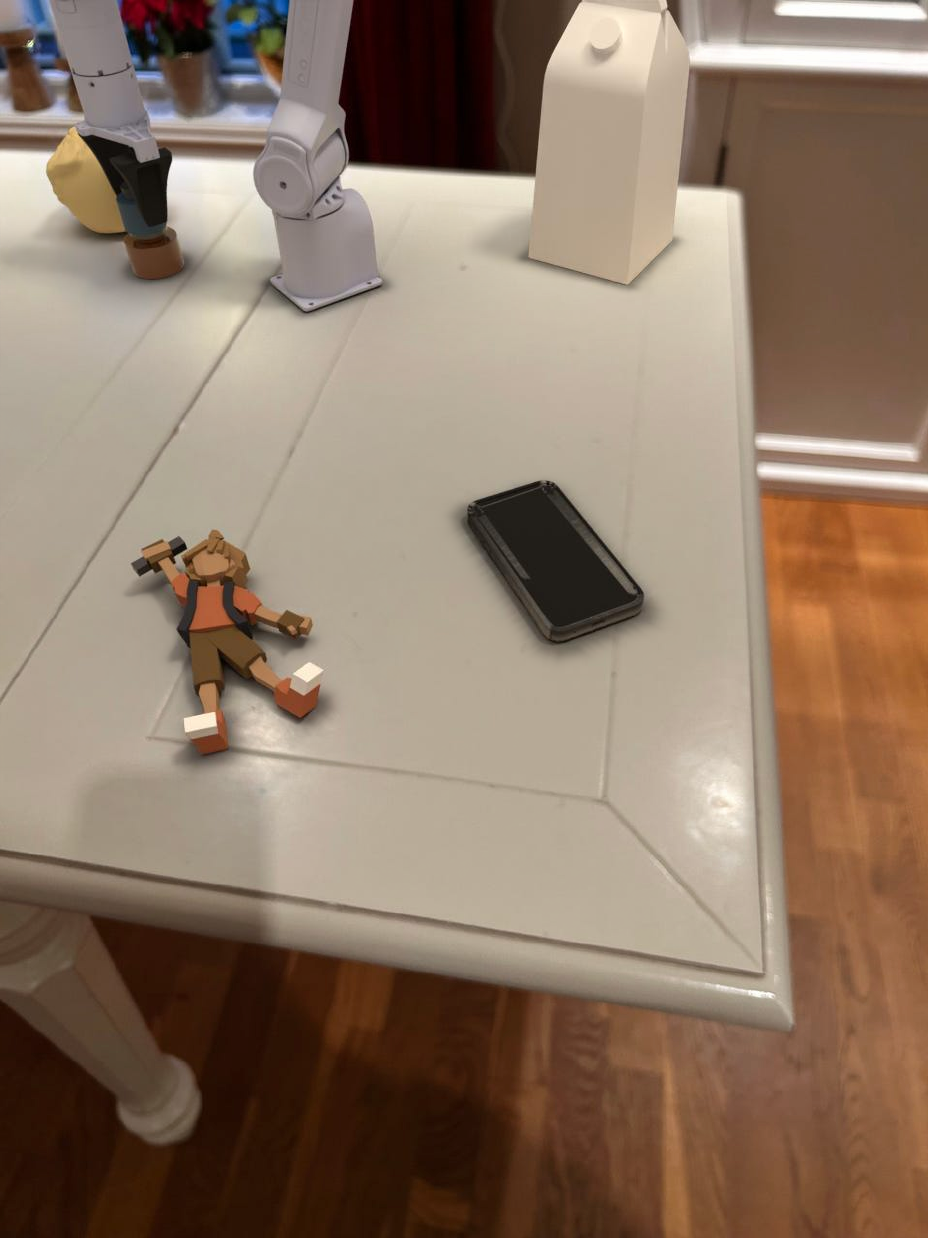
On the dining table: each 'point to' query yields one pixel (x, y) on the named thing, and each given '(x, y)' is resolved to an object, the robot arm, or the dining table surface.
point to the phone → (554, 560)
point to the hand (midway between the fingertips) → (142, 210)
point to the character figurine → (226, 631)
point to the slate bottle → (133, 214)
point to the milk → (610, 140)
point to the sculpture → (83, 185)
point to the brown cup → (154, 254)
